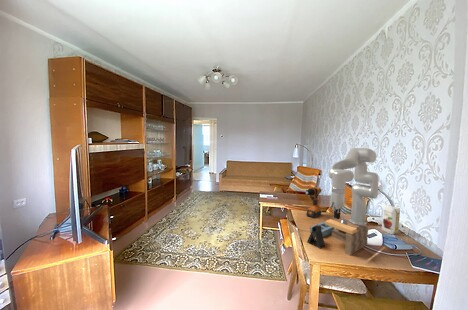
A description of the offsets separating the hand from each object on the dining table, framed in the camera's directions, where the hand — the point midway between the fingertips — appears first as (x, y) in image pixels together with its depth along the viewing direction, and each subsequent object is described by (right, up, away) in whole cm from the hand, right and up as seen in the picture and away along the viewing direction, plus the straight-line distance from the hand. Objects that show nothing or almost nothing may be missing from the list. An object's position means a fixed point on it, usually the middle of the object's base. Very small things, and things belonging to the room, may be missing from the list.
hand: (336, 218), depth 126 cm
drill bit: (+8, -15, +7) cm, 18 cm away
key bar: (-2, -4, -7) cm, 8 cm away
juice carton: (+48, -16, +18) cm, 54 cm away
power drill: (+2, -13, +45) cm, 47 cm away
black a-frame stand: (-14, -16, -1) cm, 22 cm away
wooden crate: (+4, -17, 0) cm, 17 cm away
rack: (-3, -15, +14) cm, 21 cm away
